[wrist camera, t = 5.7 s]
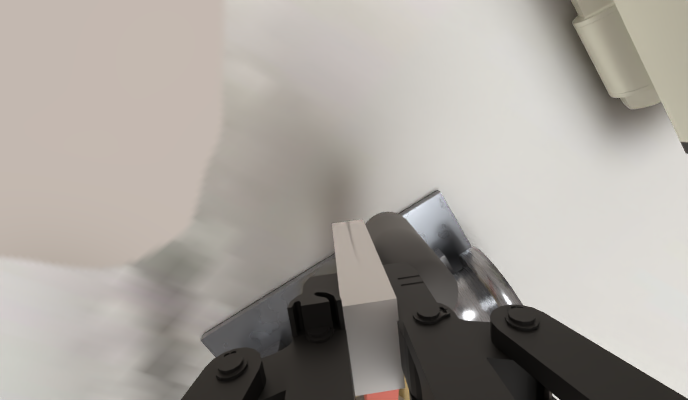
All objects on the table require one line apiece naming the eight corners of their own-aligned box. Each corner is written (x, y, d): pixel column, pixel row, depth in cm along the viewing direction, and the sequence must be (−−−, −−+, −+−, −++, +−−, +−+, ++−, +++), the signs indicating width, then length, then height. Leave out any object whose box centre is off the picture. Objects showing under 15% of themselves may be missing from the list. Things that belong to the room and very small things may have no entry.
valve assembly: (293, 435, 32) (281, 562, 23) (203, 334, 29) (148, 435, 20) (506, 312, 31) (587, 397, 21) (437, 190, 27) (497, 227, 18)
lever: (409, 446, 21) (442, 571, 15) (340, 449, 21) (348, 578, 15) (429, 211, 17) (485, 259, 11) (346, 211, 17) (359, 260, 11)
